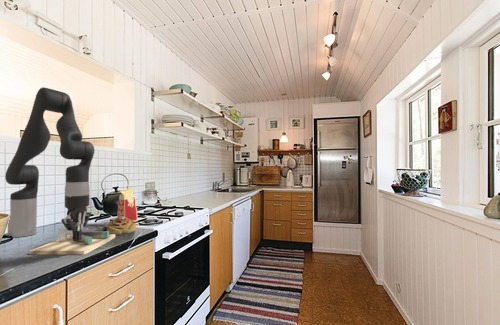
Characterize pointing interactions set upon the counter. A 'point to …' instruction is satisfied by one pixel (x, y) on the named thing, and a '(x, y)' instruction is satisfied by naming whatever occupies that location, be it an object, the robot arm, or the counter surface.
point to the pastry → (121, 226)
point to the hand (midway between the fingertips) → (77, 240)
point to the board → (71, 246)
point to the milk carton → (127, 205)
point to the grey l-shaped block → (63, 234)
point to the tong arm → (86, 239)
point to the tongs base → (95, 234)
